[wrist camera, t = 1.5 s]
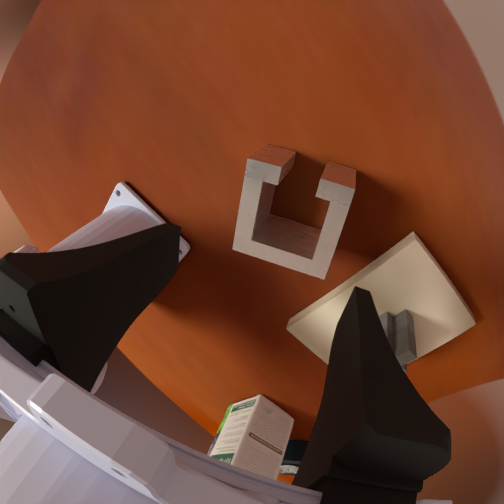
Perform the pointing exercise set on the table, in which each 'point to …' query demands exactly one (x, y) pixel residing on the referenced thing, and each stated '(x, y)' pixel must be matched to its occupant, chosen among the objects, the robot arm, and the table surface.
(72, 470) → the robot arm
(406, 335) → the keyed post base
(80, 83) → the table surface
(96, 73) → the table surface
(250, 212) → the grey slotted channel block
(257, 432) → the syrup box
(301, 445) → the watch
